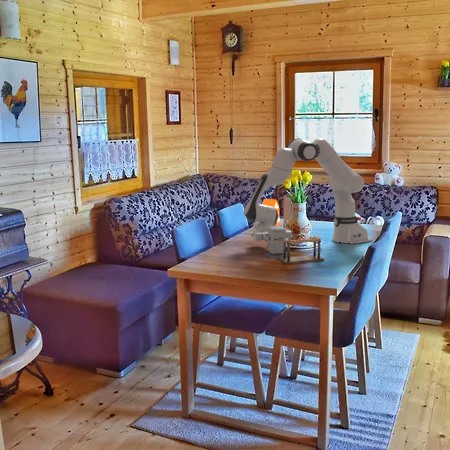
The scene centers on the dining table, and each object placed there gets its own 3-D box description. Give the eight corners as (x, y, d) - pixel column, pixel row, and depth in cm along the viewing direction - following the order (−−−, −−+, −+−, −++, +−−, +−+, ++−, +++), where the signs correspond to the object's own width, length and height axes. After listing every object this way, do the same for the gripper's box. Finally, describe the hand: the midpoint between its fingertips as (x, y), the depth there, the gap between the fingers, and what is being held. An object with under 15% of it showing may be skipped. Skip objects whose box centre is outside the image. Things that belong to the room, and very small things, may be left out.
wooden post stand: (315, 255, 278) (315, 235, 276) (320, 258, 272) (320, 238, 270) (283, 258, 273) (283, 238, 272) (287, 261, 268) (287, 241, 266)
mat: (282, 252, 290) (282, 251, 290) (289, 257, 280) (289, 255, 280) (264, 254, 287) (264, 252, 287) (271, 258, 278) (271, 257, 278)
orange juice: (266, 229, 350) (266, 198, 346) (279, 230, 345) (279, 198, 341) (261, 231, 343) (261, 199, 339) (274, 232, 339) (274, 200, 335)
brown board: (317, 256, 279) (317, 254, 279) (324, 260, 271) (324, 258, 271) (279, 260, 274) (279, 257, 274) (286, 264, 266) (286, 262, 266)
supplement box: (272, 254, 279) (272, 229, 276) (267, 250, 286) (267, 226, 283) (286, 252, 281) (286, 228, 278) (280, 249, 288) (280, 225, 285)
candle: (304, 227, 354) (304, 196, 350) (283, 226, 357) (283, 196, 353) (305, 225, 361) (305, 194, 357) (284, 224, 364) (284, 194, 360)
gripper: (249, 228, 291) (257, 233, 278) (285, 225, 296) (295, 230, 283) (249, 240, 292) (257, 245, 279) (285, 237, 297) (295, 242, 284)
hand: (277, 238), depth 281 cm, fingers closed on supplement box, 7 cm apart
